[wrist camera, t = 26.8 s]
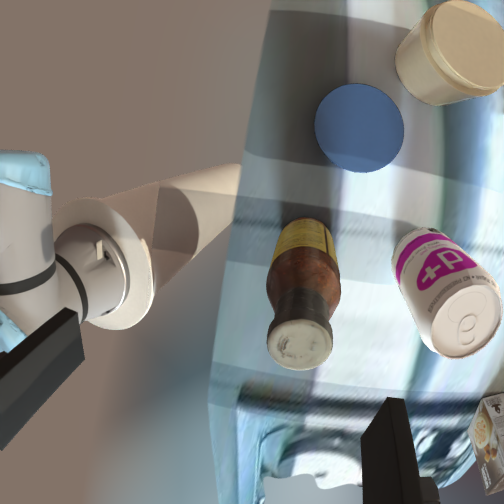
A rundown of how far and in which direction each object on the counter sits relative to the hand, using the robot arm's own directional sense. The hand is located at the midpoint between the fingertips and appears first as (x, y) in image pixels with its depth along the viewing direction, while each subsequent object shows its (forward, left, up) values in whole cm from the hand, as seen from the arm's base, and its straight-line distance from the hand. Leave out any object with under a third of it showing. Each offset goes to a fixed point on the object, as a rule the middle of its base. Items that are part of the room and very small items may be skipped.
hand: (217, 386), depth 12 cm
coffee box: (+45, -22, -27) cm, 57 cm away
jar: (+12, +22, -27) cm, 37 cm away
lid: (+5, +12, -25) cm, 28 cm away
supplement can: (+17, 0, -27) cm, 32 cm away
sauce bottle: (+3, -2, -27) cm, 27 cm away
